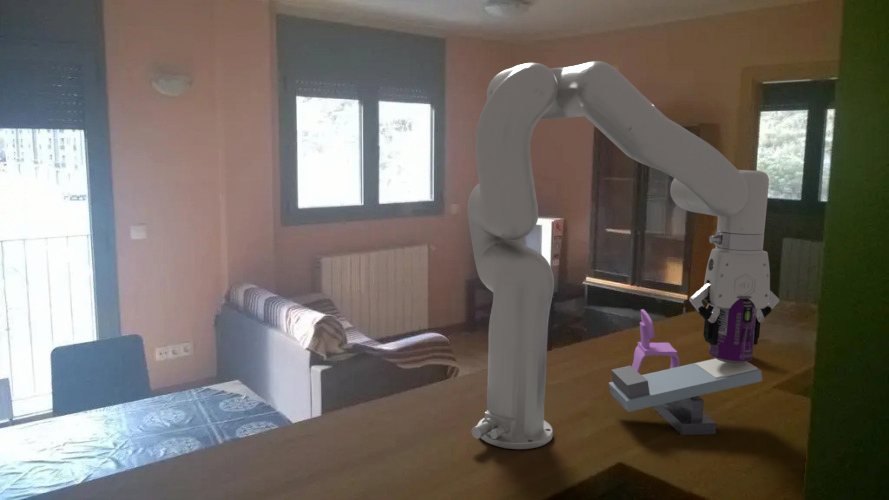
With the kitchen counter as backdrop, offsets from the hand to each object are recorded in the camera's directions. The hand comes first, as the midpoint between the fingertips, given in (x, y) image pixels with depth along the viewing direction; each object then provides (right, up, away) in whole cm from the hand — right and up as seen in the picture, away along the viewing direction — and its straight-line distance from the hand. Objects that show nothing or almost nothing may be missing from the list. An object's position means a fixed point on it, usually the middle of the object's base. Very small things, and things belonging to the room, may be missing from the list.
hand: (730, 341), depth 122 cm
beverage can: (0, -3, 0) cm, 3 cm away
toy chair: (-7, -11, +21) cm, 25 cm away
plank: (-8, -8, 0) cm, 11 cm away
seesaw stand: (-8, -14, +1) cm, 16 cm away
